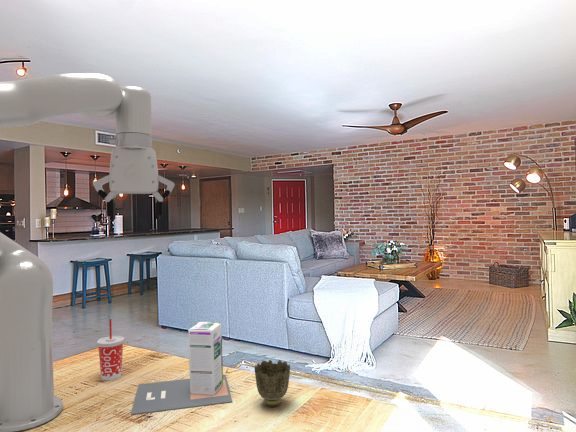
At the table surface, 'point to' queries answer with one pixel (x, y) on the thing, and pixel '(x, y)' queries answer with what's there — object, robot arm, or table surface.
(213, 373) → the syrup box
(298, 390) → the table surface
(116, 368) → the beverage cup
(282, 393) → the cup
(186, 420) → the table surface
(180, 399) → the mat
